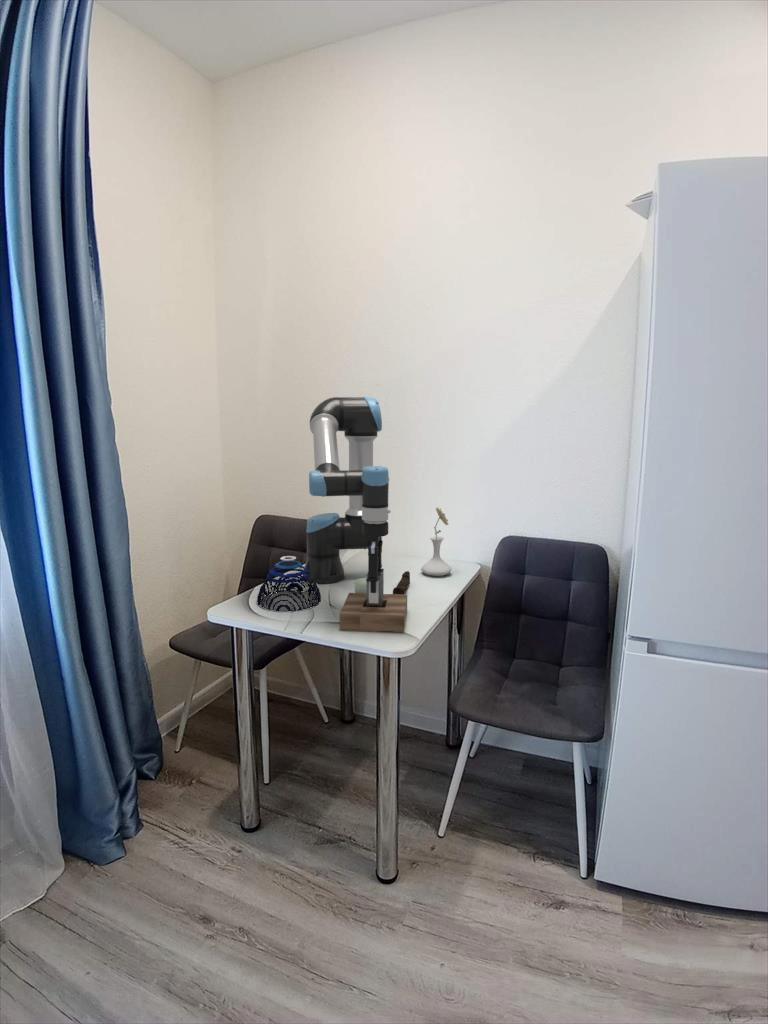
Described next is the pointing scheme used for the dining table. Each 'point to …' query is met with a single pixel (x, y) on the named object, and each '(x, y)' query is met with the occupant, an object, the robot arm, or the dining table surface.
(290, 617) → the dining table surface
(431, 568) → the flower in vase
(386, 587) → the dining table surface
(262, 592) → the decorative bowl
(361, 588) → the round stub
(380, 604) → the square bar
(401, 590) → the hand tool
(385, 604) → the socket block
